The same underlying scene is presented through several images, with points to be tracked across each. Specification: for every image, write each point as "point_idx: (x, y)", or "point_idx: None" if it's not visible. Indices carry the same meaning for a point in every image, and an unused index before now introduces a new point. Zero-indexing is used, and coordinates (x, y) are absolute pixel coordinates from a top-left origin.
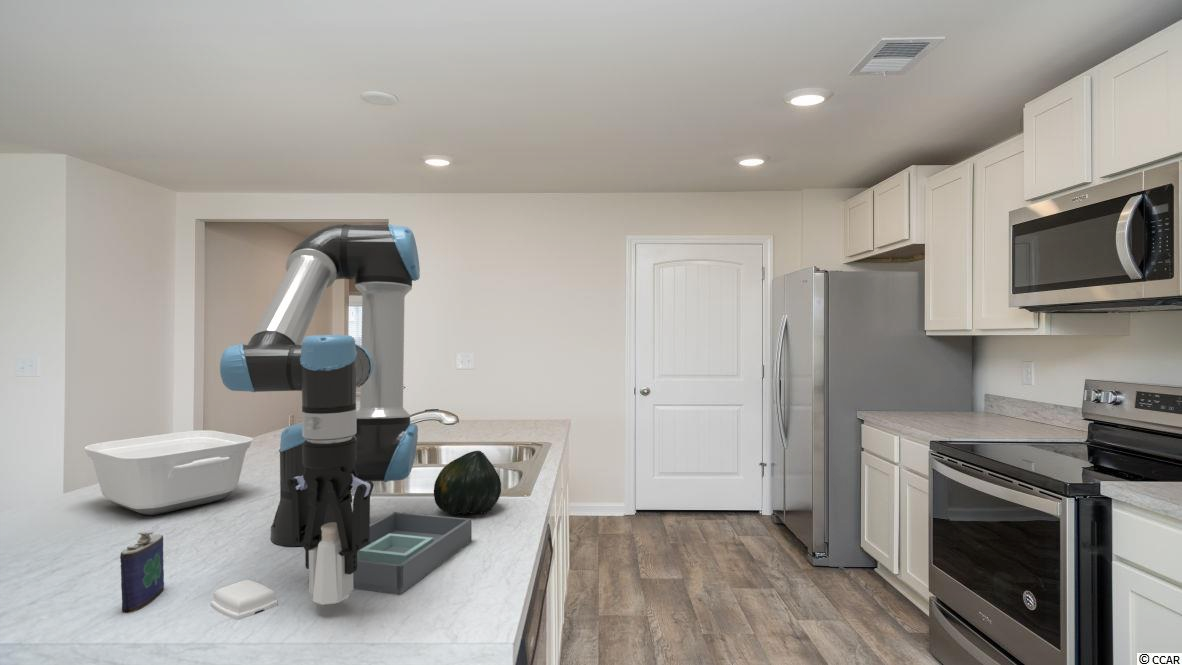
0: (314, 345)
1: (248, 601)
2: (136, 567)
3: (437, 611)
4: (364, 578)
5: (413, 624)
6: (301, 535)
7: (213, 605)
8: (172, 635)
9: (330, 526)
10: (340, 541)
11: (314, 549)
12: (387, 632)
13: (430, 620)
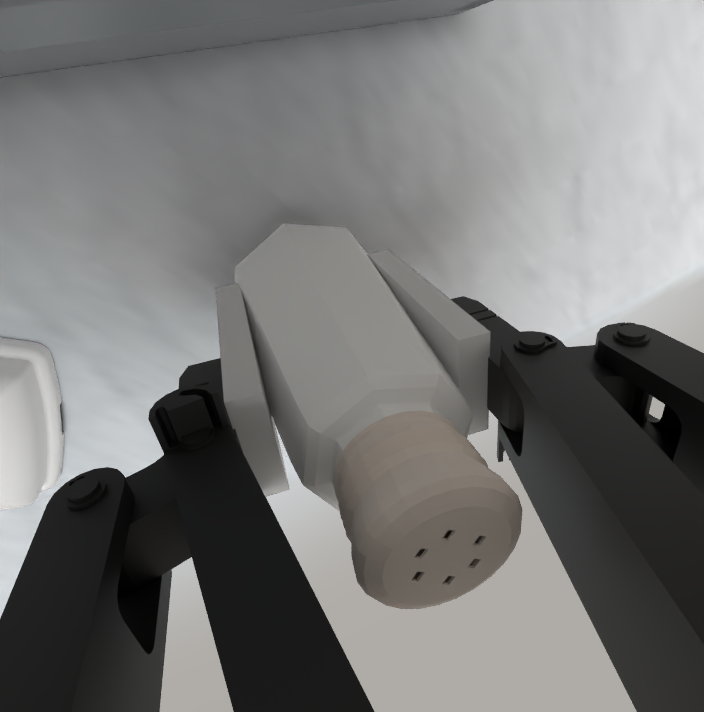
0: None
1: (30, 477)
2: None
3: (657, 98)
4: (264, 32)
5: (613, 220)
6: (147, 577)
7: None
8: (4, 606)
9: (473, 575)
10: (522, 479)
11: (271, 471)
12: (562, 295)
13: (654, 171)
